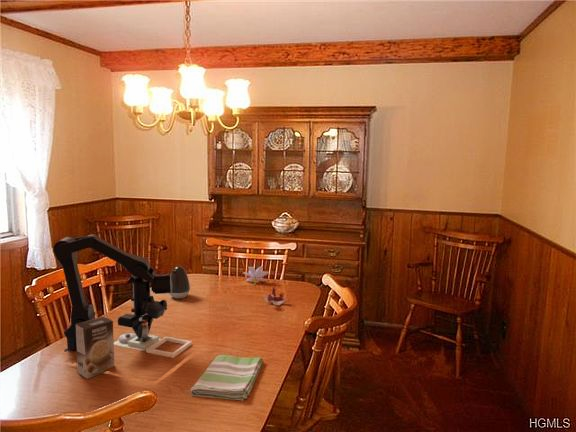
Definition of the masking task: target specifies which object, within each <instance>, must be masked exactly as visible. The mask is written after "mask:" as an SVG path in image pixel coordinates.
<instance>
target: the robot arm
mask: <svg viewBox="0 0 576 432" xmlns="http://www.w3.org/2000/svg"><path fill="white" fill-rule="evenodd" d="M86 249H92V250H93V251H95V252H97V253H99V254H101V255H103V256H104V257H107V258H108V259H110V260H112V261H114V262H115V263H118V264H120V265H121V266H122V267H123V268H124V269H125V271H127V272H128V273H130V274H131V276H130V277H129V278H128V279H127V280H126V284H132V297H130V301H131V302H133V308H131V309H130V311H131V312H130V313H133V314H130V313H125V314H123V315H121V316H119V317H118V318H117V325H118V326H121V327H125V328H131V329H132V331H133V332H134V334H136V335H137V337H138V338H139V339H141V337H142V325H143V323H144V322H145V321H142V320H148V333H149V334H150V330H151V327H152V323H153V320H154V319H155V320H157V319H159V318H160V317H163V316H164V314H165V311H167V310H168V303H167V299H166V300H165V299H161V300H160V301H159V300H155V299H154V298H155V297H154V295H151V292H152V293H153V294H155V295H157V294H158V295H160V294H161V295H163V294H170V293H172V281H171V273H165V274H157V272H156V270H155V269H153V267H152V266H151V262H150V260H149V259H148V258H146V257H144V256H141V255H138V254H132V253H129V252H127V251H125V250H123V249H121V248H120V247H117V246H116V245H114V244H112V243H110V242H108V241H107V240H104V239H102V238H100V237H99V236H98V235H96V234H94V233H92V234H89V235H85V236H84V235H83V236H80V237H79V236H78V237H75V238H74V237H69V236H66V237H64V238H62V239H60V240H59V241H57V242H55V243H54V245H53V247H52V251H53V253H54V256H55V259H56V260H57V262H58V263H59V264H60V265H61V267H62V269H63V274H64V278H65V282H66V287H67V291H68V294H69V295H68V296H69V300H70V303H71V312H70V324H69V326H68V327H67V328H66V330H65V331H64V332H63V333H64V336H65V338H66V345H67V347H66V348H65V349H64V350H63V351H64V352H68V351H71V352H77V343H76V324H77V323H81V322H84V321H88V320H92V319H95V316H96V314H97V313H96V312H95V310H94V309H95V308H94V304H93V303H91V304H89V303H88V302H87V300H86V297H85V292H84V288H83V284H82V283H83V282H82V279H81V275H80V274H81V273H80V270H79V266H78V257H79V251H82V250H86Z"/></svg>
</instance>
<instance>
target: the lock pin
mask: <svg viewBox="0 0 576 432" xmlns="http://www.w3.org/2000/svg"><path fill="white" fill-rule="evenodd" d="M142 321H145V322H144V323H143V325H142V337H141V339H139V338H138V341H140V342H146V341H148V340H149V335H150V332H149V333H148V320H142Z"/></svg>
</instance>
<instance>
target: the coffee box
mask: <svg viewBox="0 0 576 432" xmlns="http://www.w3.org/2000/svg"><path fill="white" fill-rule="evenodd" d="M114 342H115V341H114V321H113V320H112V319H110V318H108V317H106V316H100V317H96V318H94V319H92V320H88V321H84V322H81V323H77V324H76V343H77V351H76V360H77V361H76V364H77V365H76V366H77V373H78V374H79V375H81V376H82V377H84V378H85V379H90V378H93V377H95V376H98V375H101V374H103V373H106V372H109V370H108V369H110V368H112V367H115V345H114Z"/></svg>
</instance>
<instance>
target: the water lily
mask: <svg viewBox="0 0 576 432" xmlns="http://www.w3.org/2000/svg"><path fill="white" fill-rule="evenodd" d="M263 268H264V267H263V265H261V266H259V267H258V268H256V269H255V267H254V266H248V272H242V274H244V275H245V276H247V277H249V278H246V280H245V282H251V281H253V280H254V286H255V287H256V285H257V284H256V282H257V281H259V282H262V283H263V282H266V279H265V278H263V277H265V276H266V275H268V274H269V271H265V270H263Z"/></svg>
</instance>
